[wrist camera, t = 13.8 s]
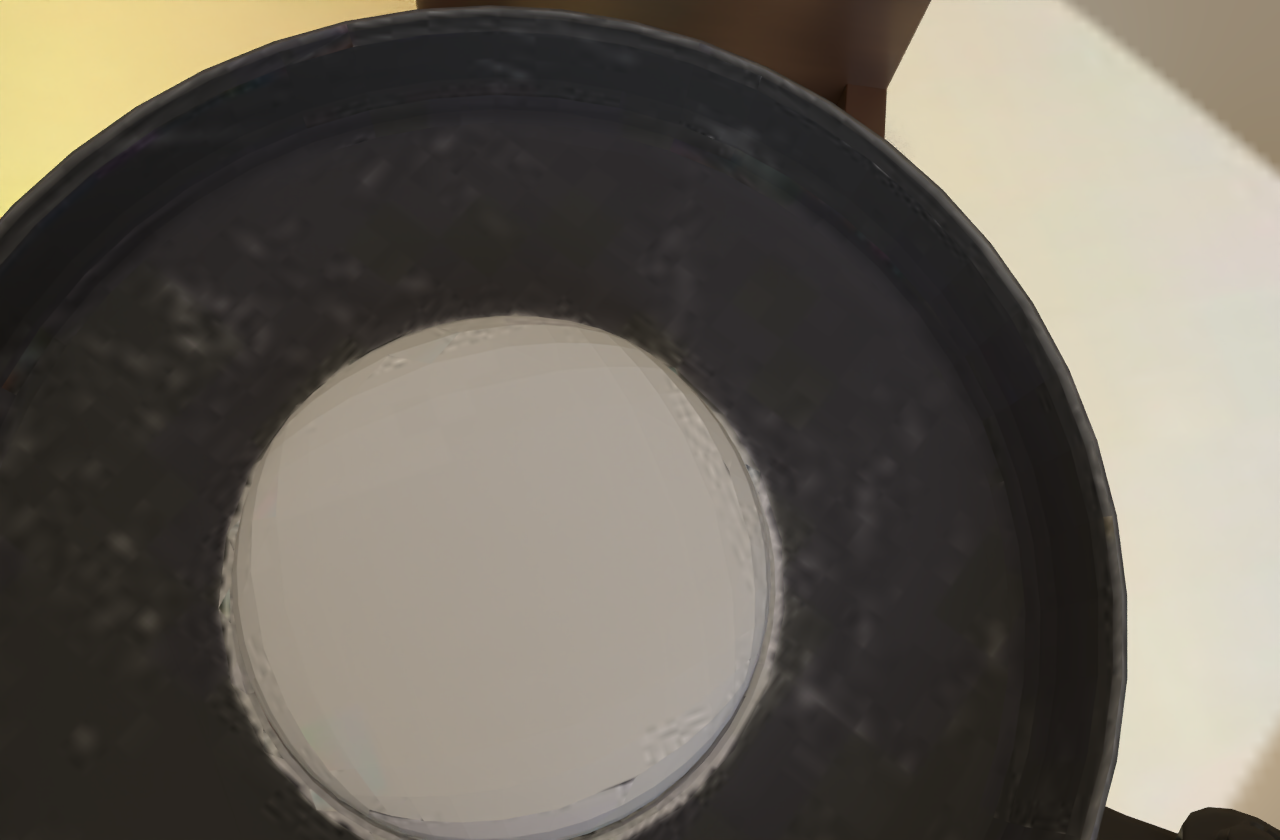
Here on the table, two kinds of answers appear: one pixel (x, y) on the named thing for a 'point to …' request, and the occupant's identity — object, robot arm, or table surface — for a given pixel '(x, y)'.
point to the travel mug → (535, 464)
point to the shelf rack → (780, 38)
